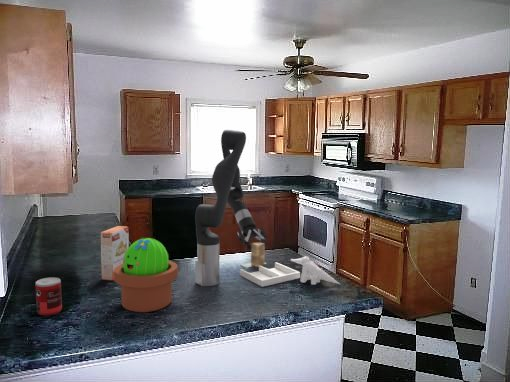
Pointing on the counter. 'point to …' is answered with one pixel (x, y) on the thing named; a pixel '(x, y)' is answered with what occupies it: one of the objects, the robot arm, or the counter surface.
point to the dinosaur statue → (312, 271)
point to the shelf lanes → (271, 275)
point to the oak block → (257, 254)
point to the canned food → (48, 296)
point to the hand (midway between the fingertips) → (257, 248)
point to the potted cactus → (146, 276)
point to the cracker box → (113, 249)
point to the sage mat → (248, 265)
